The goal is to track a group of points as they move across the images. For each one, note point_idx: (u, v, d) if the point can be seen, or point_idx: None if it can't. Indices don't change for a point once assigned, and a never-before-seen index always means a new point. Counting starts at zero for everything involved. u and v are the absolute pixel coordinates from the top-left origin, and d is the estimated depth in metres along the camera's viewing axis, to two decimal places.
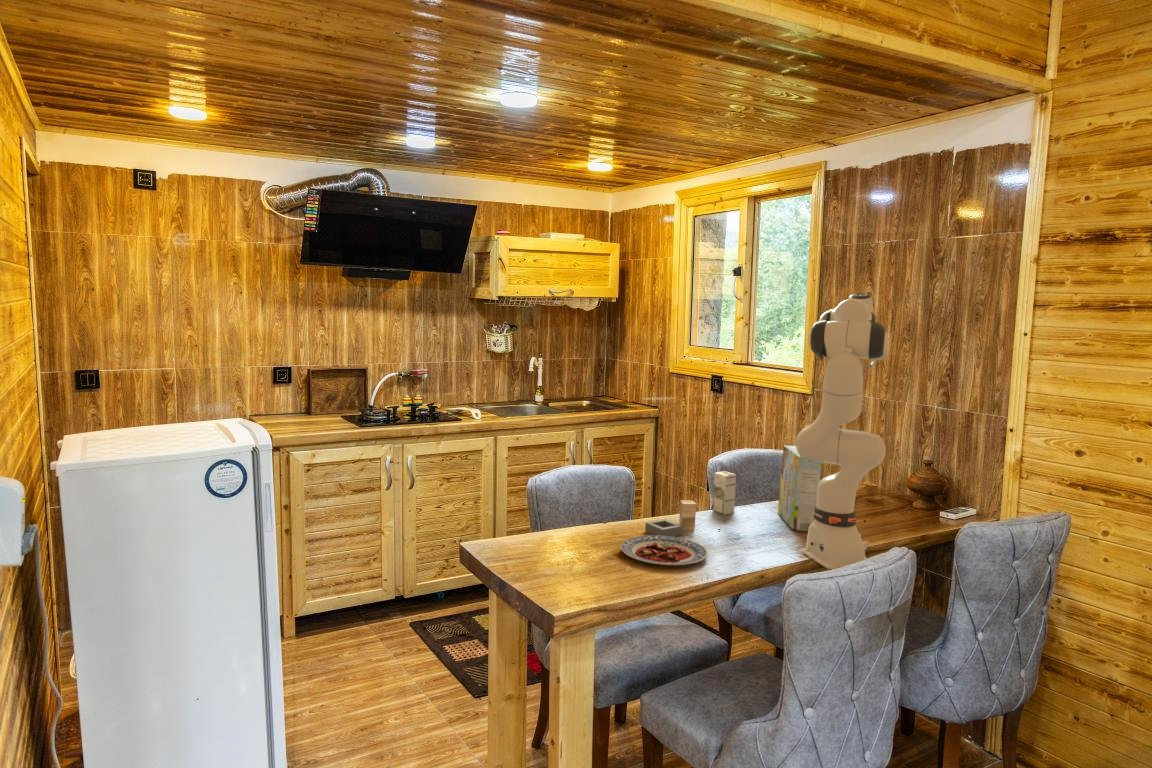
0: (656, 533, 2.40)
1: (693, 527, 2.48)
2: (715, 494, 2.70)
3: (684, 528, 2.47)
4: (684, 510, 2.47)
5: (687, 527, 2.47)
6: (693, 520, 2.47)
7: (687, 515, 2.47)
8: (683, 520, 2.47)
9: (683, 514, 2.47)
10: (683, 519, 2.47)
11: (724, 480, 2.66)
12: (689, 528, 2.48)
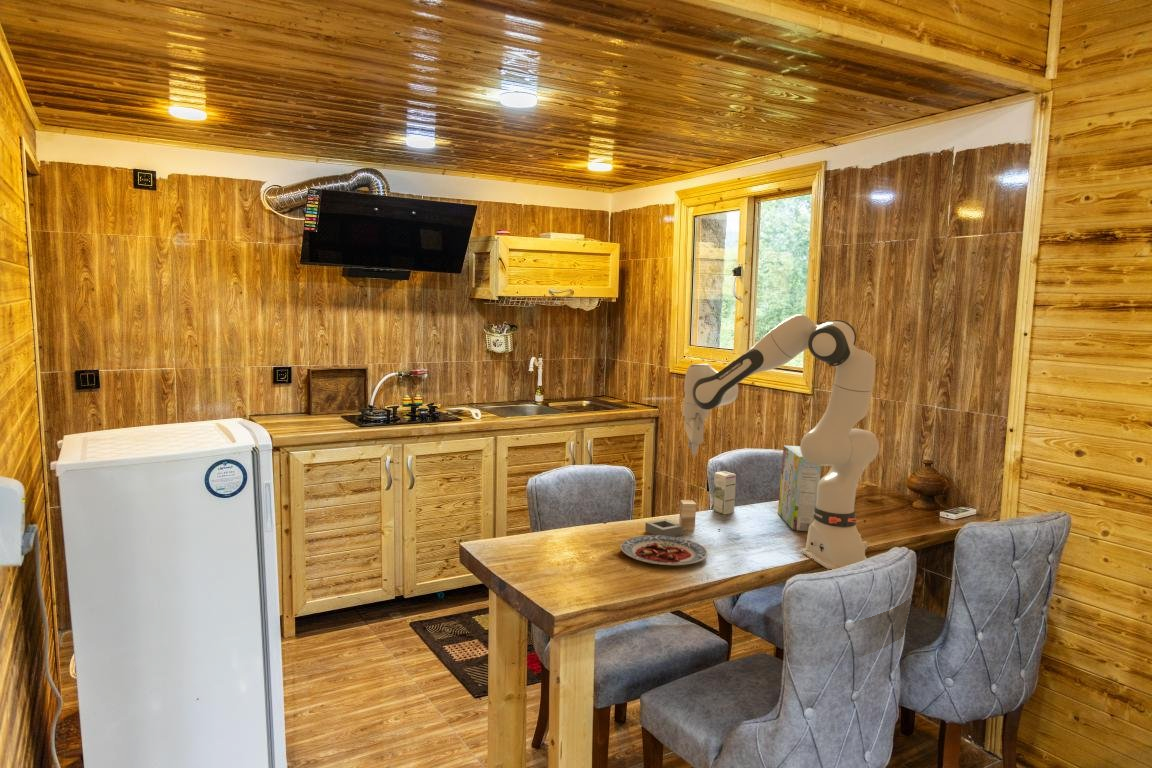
0: (656, 533, 2.40)
1: (693, 527, 2.48)
2: (715, 494, 2.70)
3: (684, 528, 2.47)
4: (684, 510, 2.47)
5: (687, 527, 2.47)
6: (693, 520, 2.47)
7: (687, 515, 2.47)
8: (683, 520, 2.47)
9: (683, 514, 2.47)
10: (683, 519, 2.47)
11: (724, 480, 2.66)
12: (689, 528, 2.48)
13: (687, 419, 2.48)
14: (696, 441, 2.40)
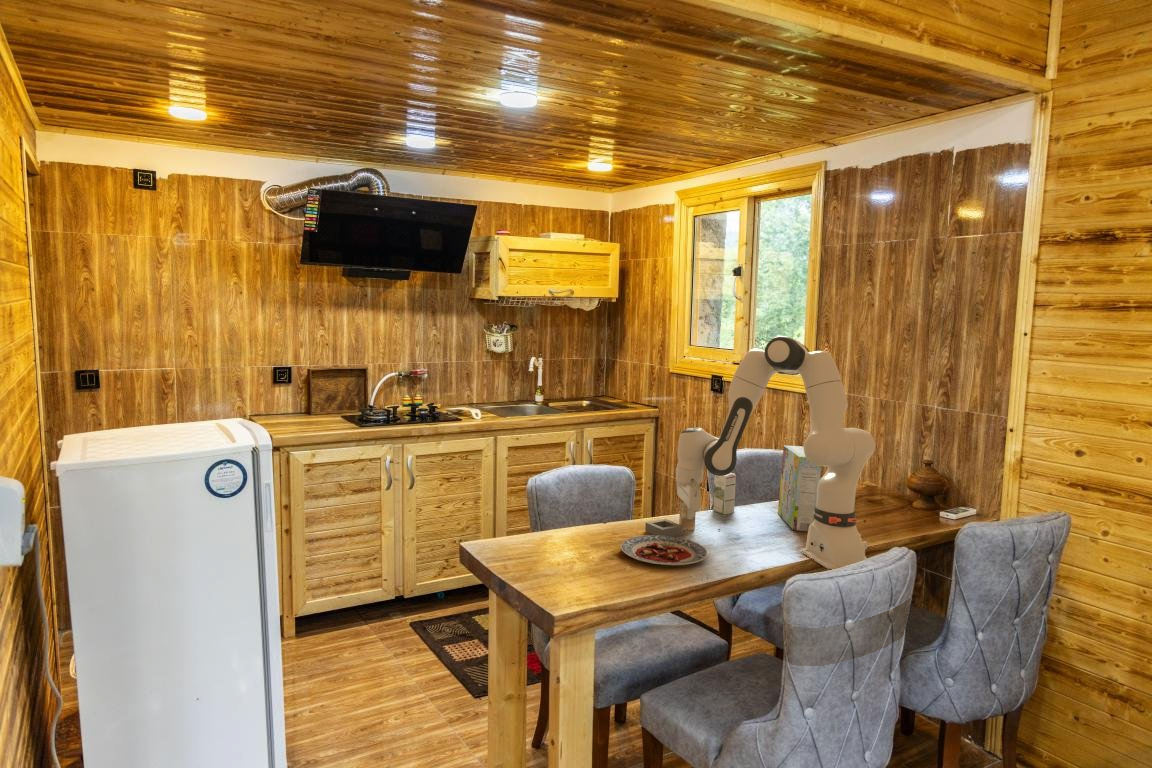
0: (656, 533, 2.40)
1: (693, 527, 2.48)
2: (715, 494, 2.70)
3: (684, 528, 2.47)
4: (684, 510, 2.47)
5: (687, 527, 2.47)
6: (693, 520, 2.47)
7: None
8: (683, 520, 2.47)
9: (683, 514, 2.47)
10: (683, 519, 2.47)
11: (724, 480, 2.66)
12: (689, 528, 2.48)
13: (682, 484, 2.46)
14: (694, 508, 2.39)
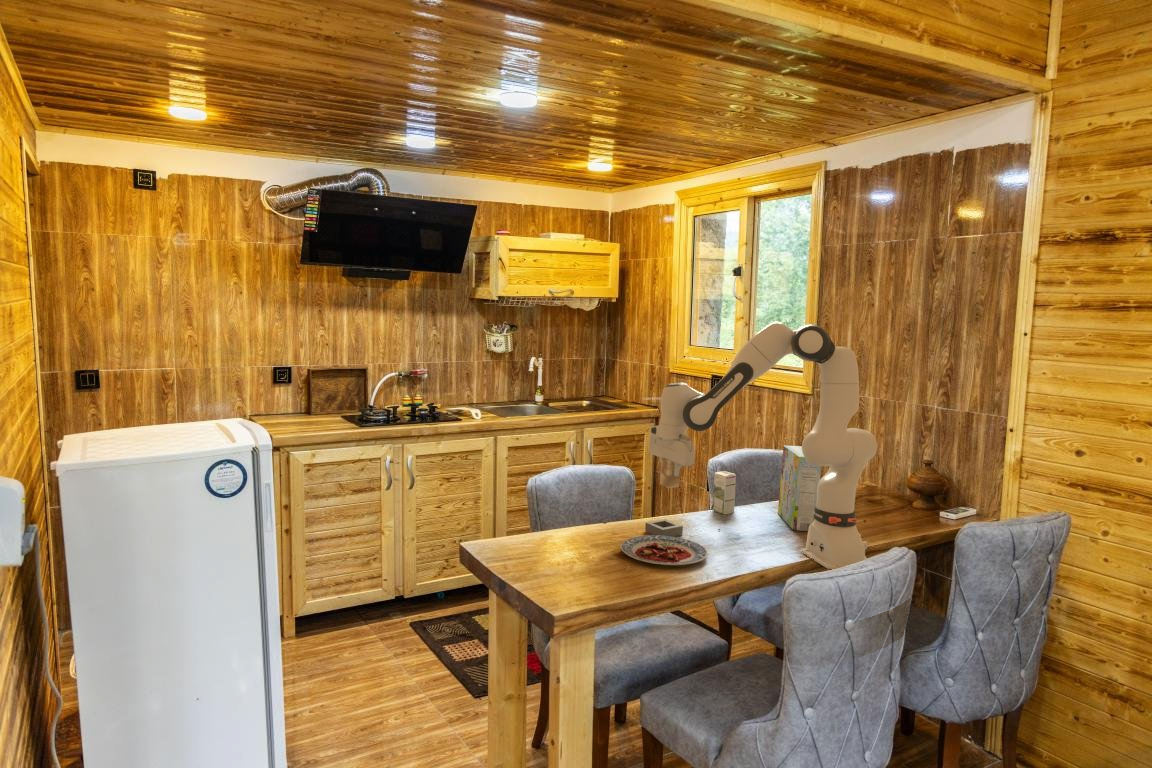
0: (656, 533, 2.40)
1: (677, 484, 2.42)
2: (715, 494, 2.70)
3: (670, 486, 2.40)
4: (670, 467, 2.39)
5: (672, 484, 2.41)
6: (677, 477, 2.41)
7: None
8: (669, 478, 2.40)
9: (669, 472, 2.40)
10: (669, 476, 2.40)
11: (724, 480, 2.66)
12: (674, 485, 2.41)
13: (668, 441, 2.38)
14: (689, 463, 2.33)
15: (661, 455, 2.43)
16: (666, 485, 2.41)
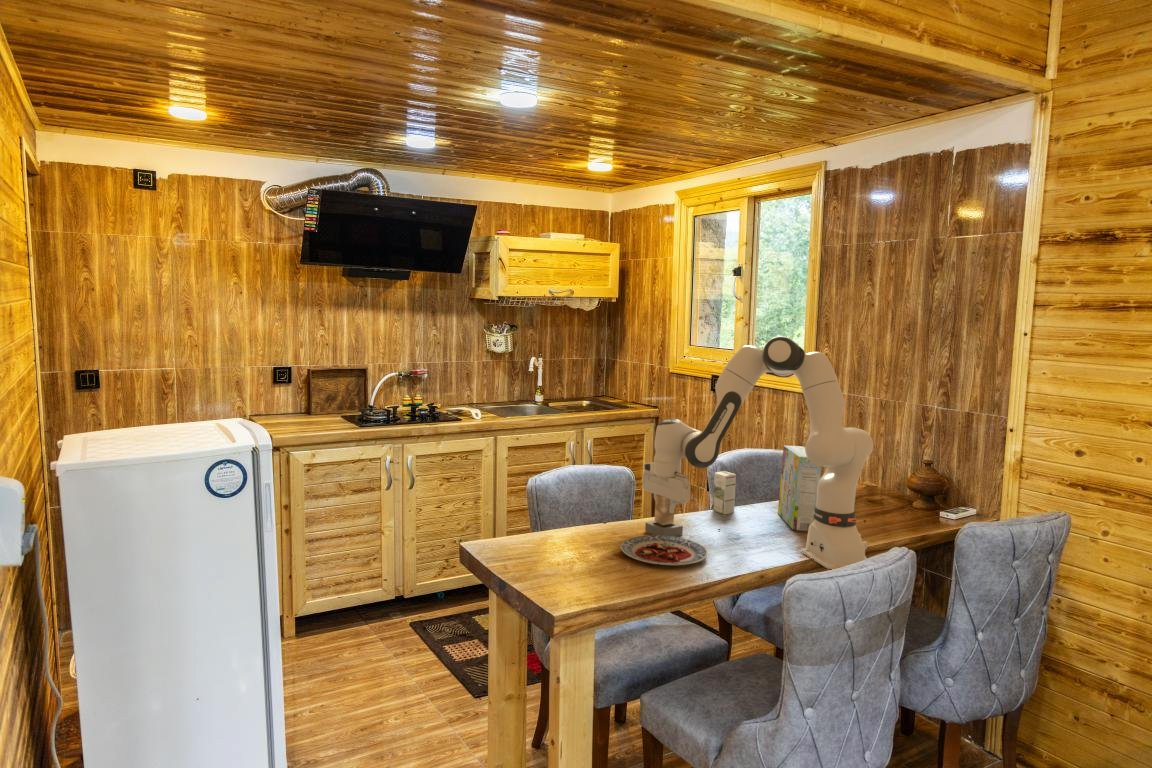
0: (656, 533, 2.40)
1: (672, 521, 2.42)
2: (715, 494, 2.70)
3: (665, 523, 2.40)
4: (665, 504, 2.40)
5: (667, 521, 2.41)
6: (672, 513, 2.42)
7: None
8: (664, 515, 2.40)
9: (664, 509, 2.40)
10: (664, 513, 2.40)
11: (724, 480, 2.66)
12: (669, 522, 2.41)
13: (663, 478, 2.38)
14: (685, 501, 2.33)
15: (655, 492, 2.43)
16: (661, 522, 2.41)
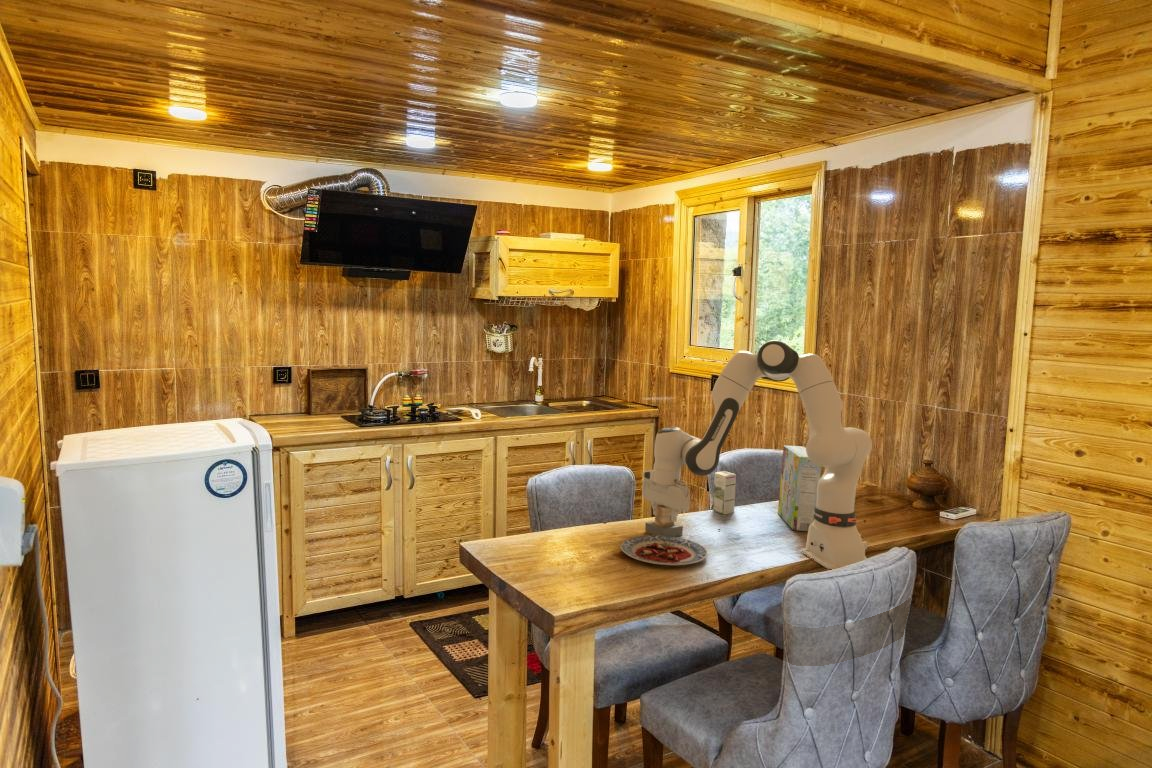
0: (656, 533, 2.40)
1: None
2: (715, 494, 2.70)
3: None
4: (665, 515, 2.40)
5: None
6: (672, 524, 2.42)
7: (667, 520, 2.40)
8: (664, 526, 2.40)
9: (664, 520, 2.40)
10: (664, 524, 2.40)
11: (724, 480, 2.66)
12: None
13: (663, 486, 2.39)
14: (685, 509, 2.34)
15: (655, 500, 2.43)
16: None
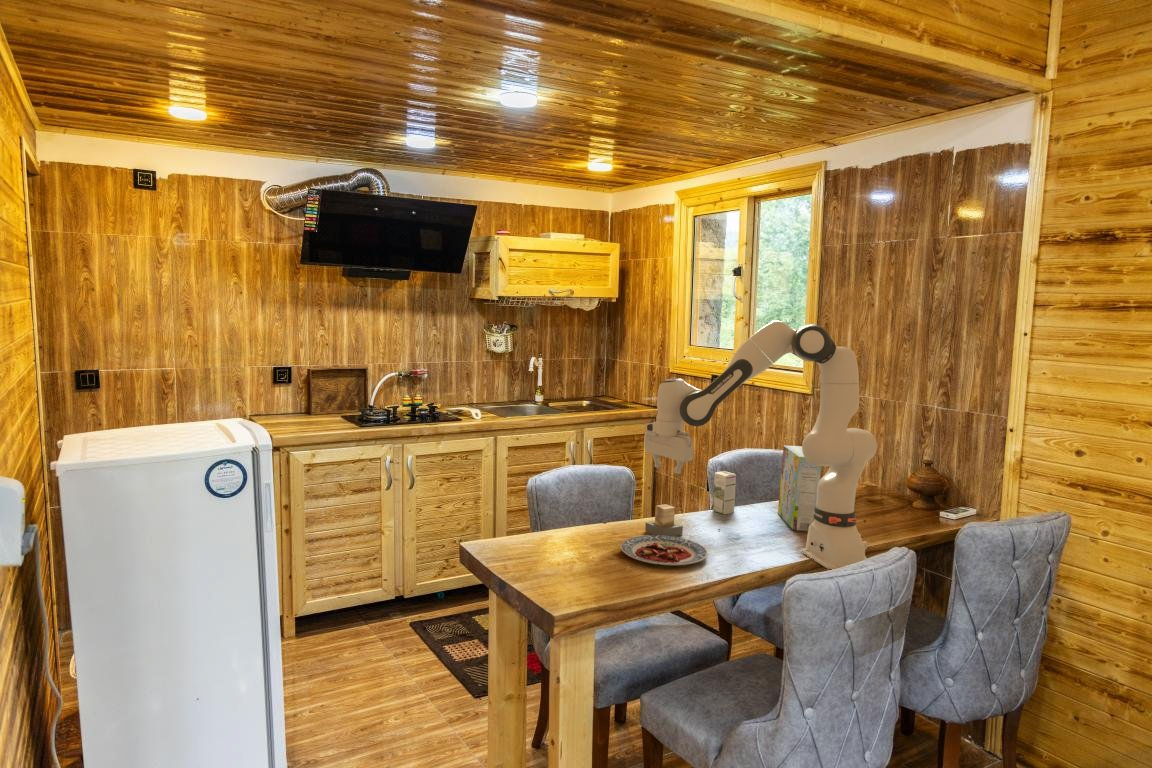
0: (656, 533, 2.40)
1: None
2: (715, 494, 2.70)
3: None
4: (665, 515, 2.40)
5: None
6: (672, 524, 2.42)
7: (667, 520, 2.40)
8: (664, 526, 2.40)
9: (664, 520, 2.40)
10: (664, 524, 2.40)
11: (724, 480, 2.66)
12: None
13: (665, 438, 2.37)
14: (688, 459, 2.32)
15: (658, 452, 2.41)
16: None
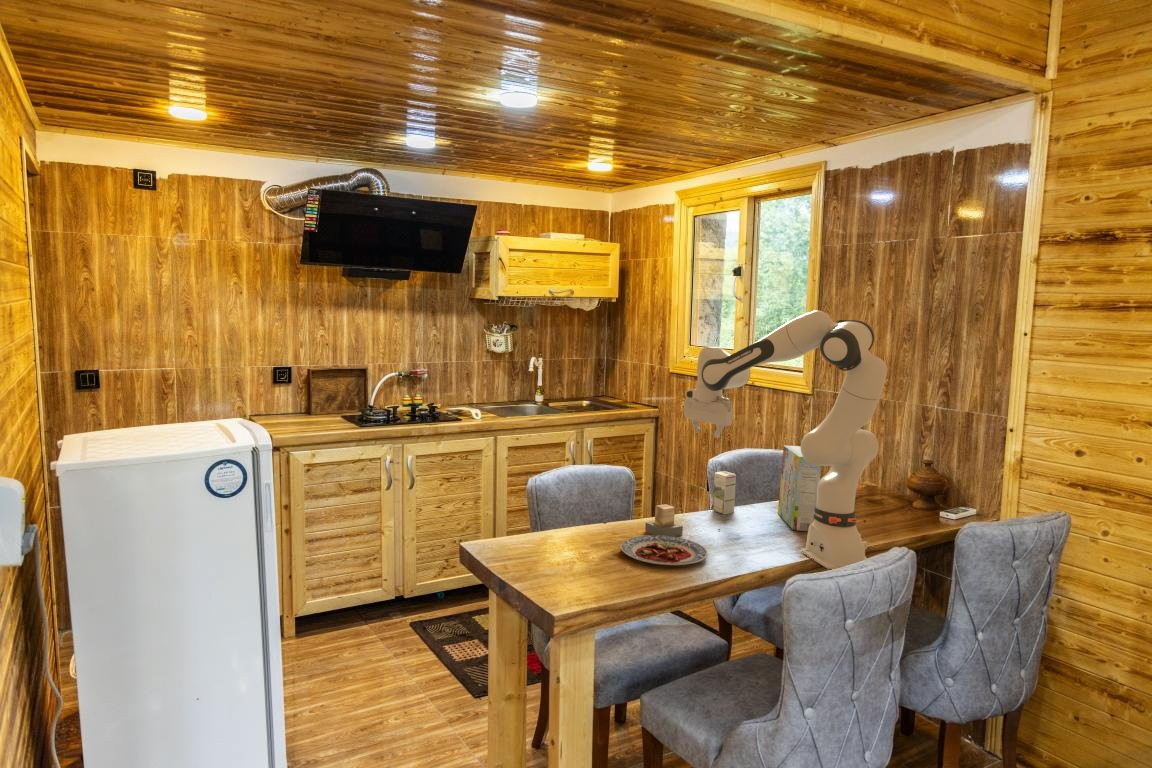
0: (656, 533, 2.40)
1: None
2: (715, 494, 2.70)
3: None
4: (665, 515, 2.40)
5: None
6: (672, 524, 2.42)
7: (667, 520, 2.40)
8: (664, 526, 2.40)
9: (664, 520, 2.40)
10: (664, 524, 2.40)
11: (724, 480, 2.66)
12: None
13: (705, 403, 2.47)
14: (728, 423, 2.42)
15: (697, 418, 2.51)
16: None
